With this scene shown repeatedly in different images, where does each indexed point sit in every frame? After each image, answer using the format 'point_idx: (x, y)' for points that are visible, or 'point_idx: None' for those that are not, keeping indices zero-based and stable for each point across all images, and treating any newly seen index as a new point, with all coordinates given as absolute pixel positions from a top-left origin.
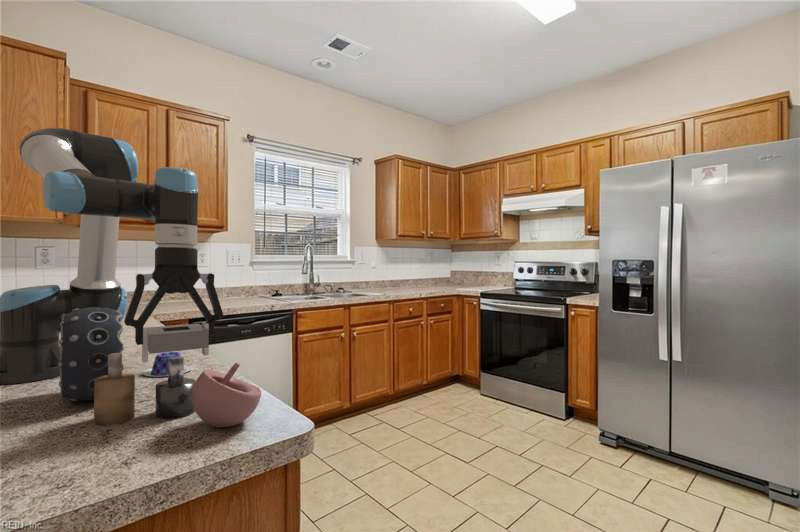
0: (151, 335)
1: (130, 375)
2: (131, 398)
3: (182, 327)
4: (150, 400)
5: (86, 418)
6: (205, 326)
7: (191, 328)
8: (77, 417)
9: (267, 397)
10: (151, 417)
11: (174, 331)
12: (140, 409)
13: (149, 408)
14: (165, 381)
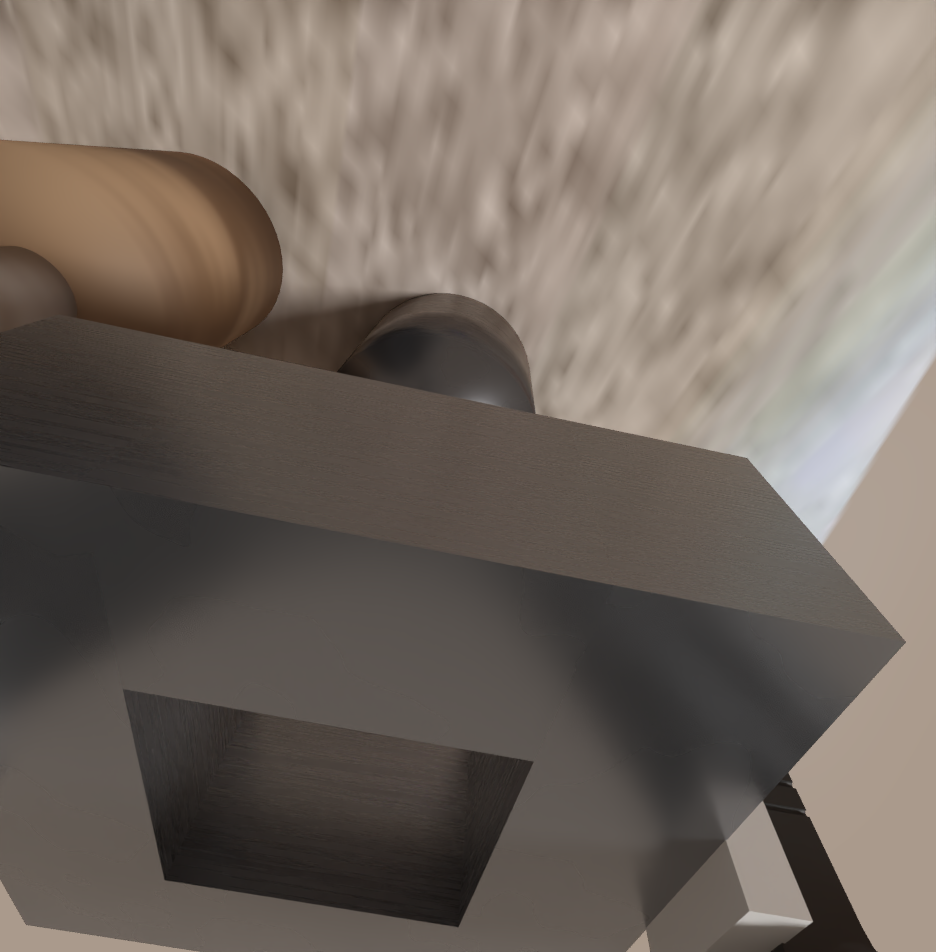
0: (47, 918)
1: (134, 316)
2: (219, 343)
3: (457, 736)
4: (399, 9)
5: (61, 116)
6: (656, 947)
7: (488, 898)
8: (6, 48)
9: (844, 487)
10: (345, 359)
11: (263, 923)
12: (319, 182)
13: (361, 204)
14: (386, 366)
